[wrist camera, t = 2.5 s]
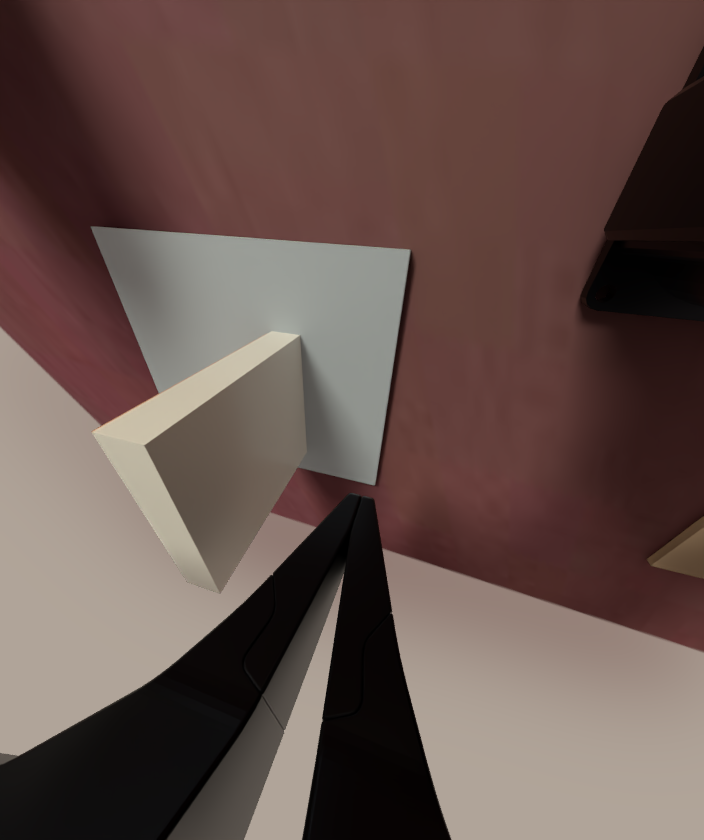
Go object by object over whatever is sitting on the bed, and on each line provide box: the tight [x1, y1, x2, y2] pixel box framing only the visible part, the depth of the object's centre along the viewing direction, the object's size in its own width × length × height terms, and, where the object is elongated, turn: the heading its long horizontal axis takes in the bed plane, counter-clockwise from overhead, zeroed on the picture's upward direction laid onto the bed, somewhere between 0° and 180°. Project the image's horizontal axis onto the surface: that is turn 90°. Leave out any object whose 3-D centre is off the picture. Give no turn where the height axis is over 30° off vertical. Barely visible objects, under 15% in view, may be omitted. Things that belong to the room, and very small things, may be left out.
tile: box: [92, 331, 307, 593], centre depth 11 cm, size 2×7×8 cm, turn 176°
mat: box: [90, 226, 411, 486], centre depth 14 cm, size 14×12×1 cm
